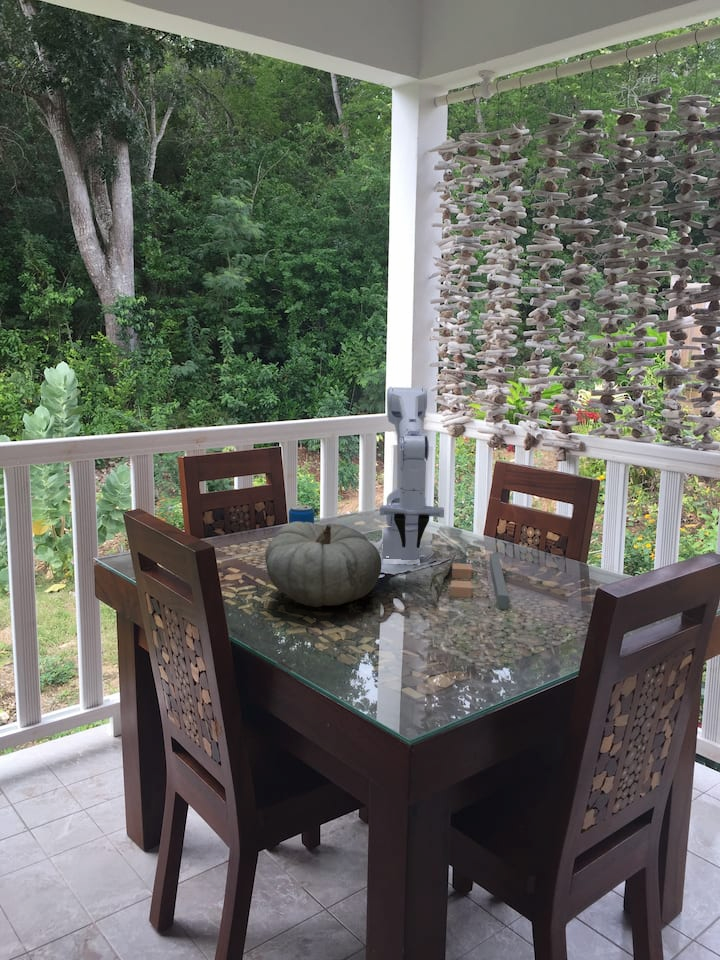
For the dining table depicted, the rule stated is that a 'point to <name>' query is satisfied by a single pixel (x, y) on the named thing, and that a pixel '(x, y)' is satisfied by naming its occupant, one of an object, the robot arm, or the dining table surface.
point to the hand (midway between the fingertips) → (411, 546)
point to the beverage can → (301, 514)
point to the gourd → (322, 563)
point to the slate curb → (498, 582)
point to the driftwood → (441, 577)
